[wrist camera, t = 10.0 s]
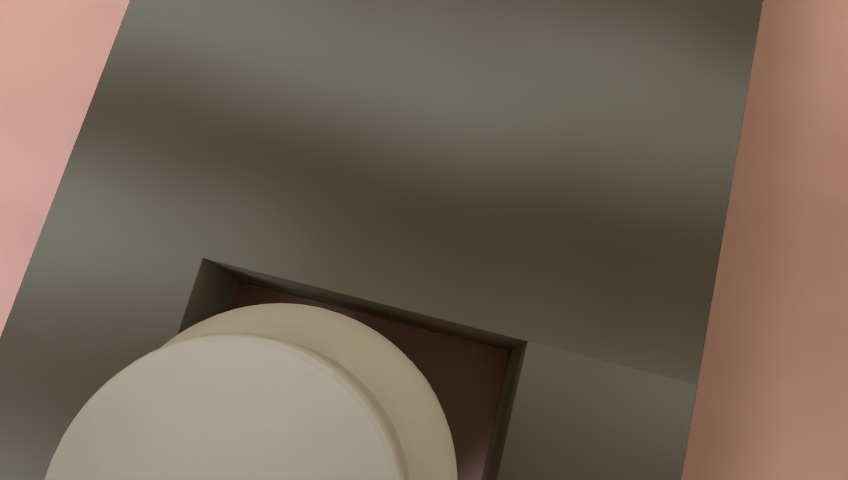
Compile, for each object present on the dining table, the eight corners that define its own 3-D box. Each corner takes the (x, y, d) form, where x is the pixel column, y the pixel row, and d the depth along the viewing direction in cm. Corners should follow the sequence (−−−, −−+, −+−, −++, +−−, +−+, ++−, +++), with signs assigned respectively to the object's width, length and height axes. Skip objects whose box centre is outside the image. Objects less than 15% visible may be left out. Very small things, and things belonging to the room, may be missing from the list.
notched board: (593, 698, 16) (631, 766, 13) (5, 531, 17) (-85, 559, 14) (756, -187, 21) (811, -282, 18) (299, -282, 22) (279, -389, 19)
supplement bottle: (321, 626, 16) (168, 953, 7) (172, 444, 17) (-151, 502, 8) (492, 458, 17) (578, 534, 7) (342, 293, 18) (245, 170, 8)
